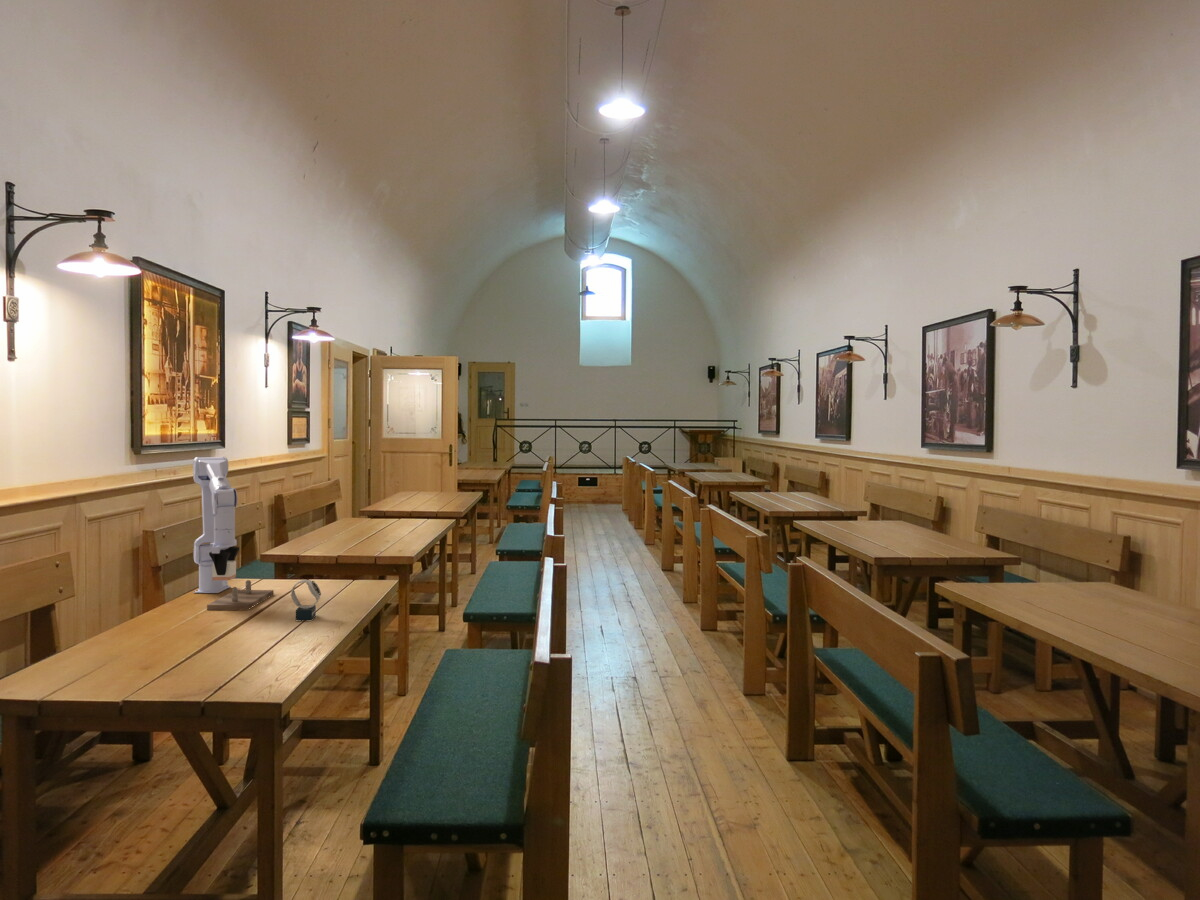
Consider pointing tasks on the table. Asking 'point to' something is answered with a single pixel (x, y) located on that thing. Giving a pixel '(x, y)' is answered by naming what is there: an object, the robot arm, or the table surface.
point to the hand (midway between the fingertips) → (224, 573)
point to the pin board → (240, 598)
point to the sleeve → (229, 572)
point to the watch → (306, 610)
